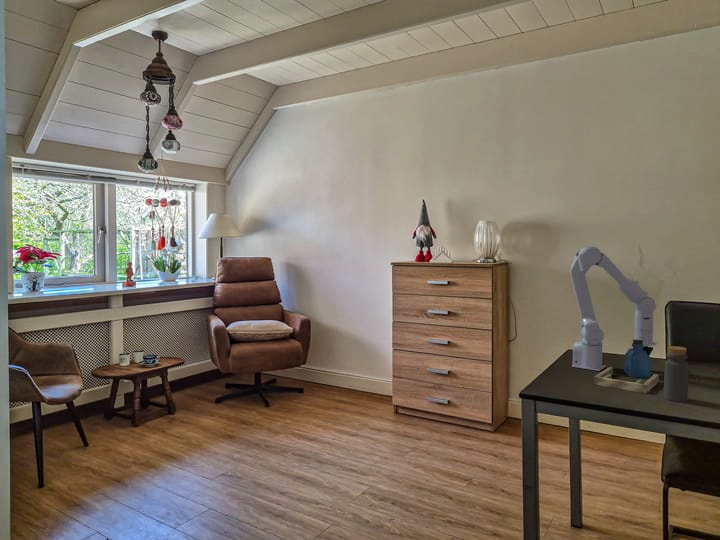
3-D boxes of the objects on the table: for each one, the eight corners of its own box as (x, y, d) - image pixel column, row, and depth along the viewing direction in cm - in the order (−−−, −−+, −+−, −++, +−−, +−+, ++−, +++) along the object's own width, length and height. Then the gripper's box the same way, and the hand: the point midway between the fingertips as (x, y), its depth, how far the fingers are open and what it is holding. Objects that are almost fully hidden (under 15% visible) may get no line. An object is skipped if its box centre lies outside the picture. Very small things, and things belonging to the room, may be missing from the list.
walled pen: (593, 384, 159) (593, 376, 159) (609, 373, 171) (609, 367, 171) (646, 393, 149) (646, 385, 148) (658, 381, 161) (658, 374, 161)
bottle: (659, 396, 146) (660, 345, 146) (677, 395, 147) (679, 345, 146) (673, 402, 140) (674, 350, 140) (692, 401, 141) (694, 349, 140)
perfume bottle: (650, 377, 166) (651, 342, 166) (630, 376, 168) (631, 341, 167) (643, 373, 172) (644, 339, 172) (624, 372, 174) (625, 338, 173)
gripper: (651, 333, 167) (650, 373, 168) (661, 327, 178) (659, 365, 179) (628, 331, 172) (627, 369, 173) (639, 325, 183) (638, 362, 183)
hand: (642, 367), depth 176 cm, fingers closed
